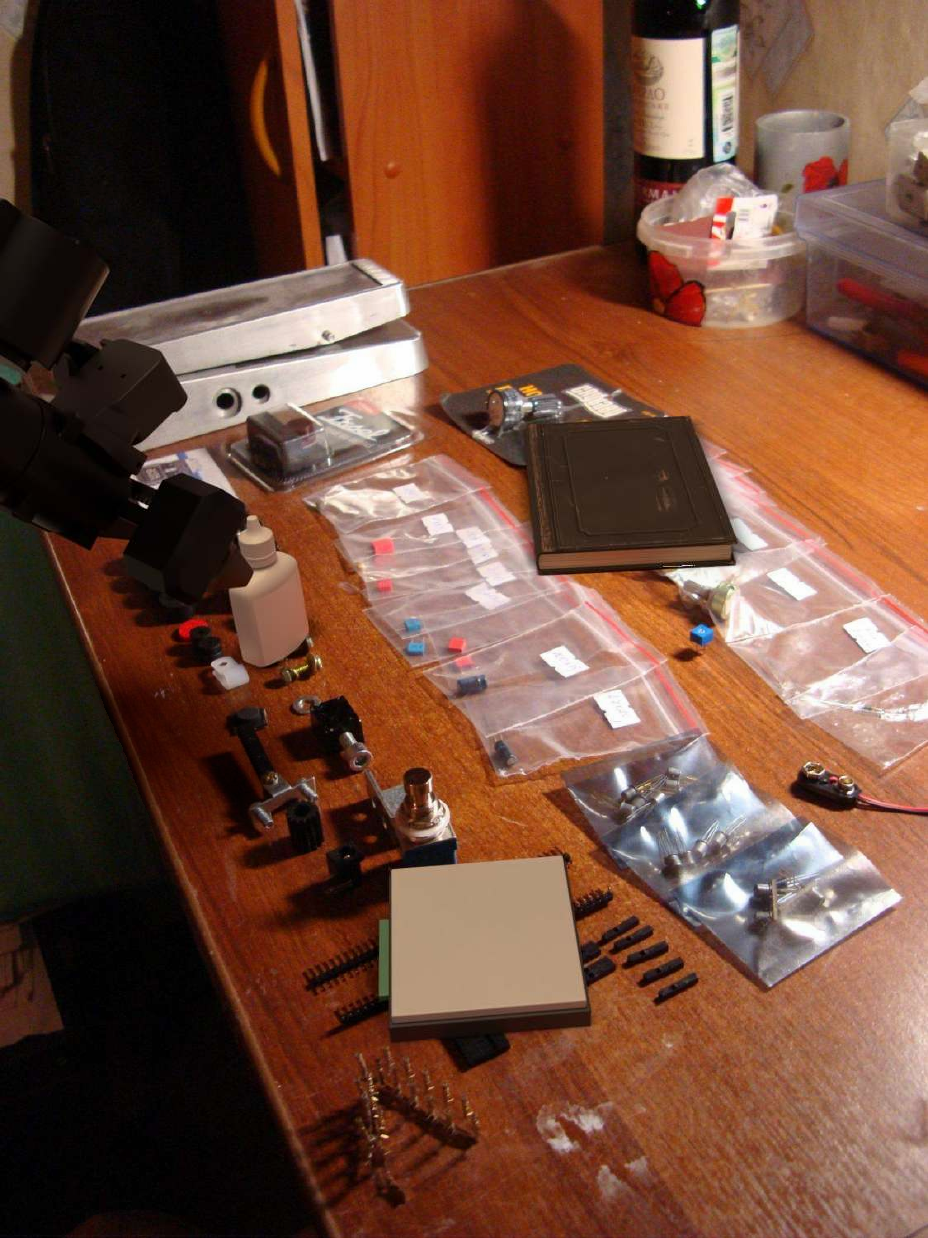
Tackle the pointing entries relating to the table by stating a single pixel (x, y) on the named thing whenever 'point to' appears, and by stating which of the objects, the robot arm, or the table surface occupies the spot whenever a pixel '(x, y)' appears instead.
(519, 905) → the kitchen scale
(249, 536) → the eye dropper bottle
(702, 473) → the hardcover book
